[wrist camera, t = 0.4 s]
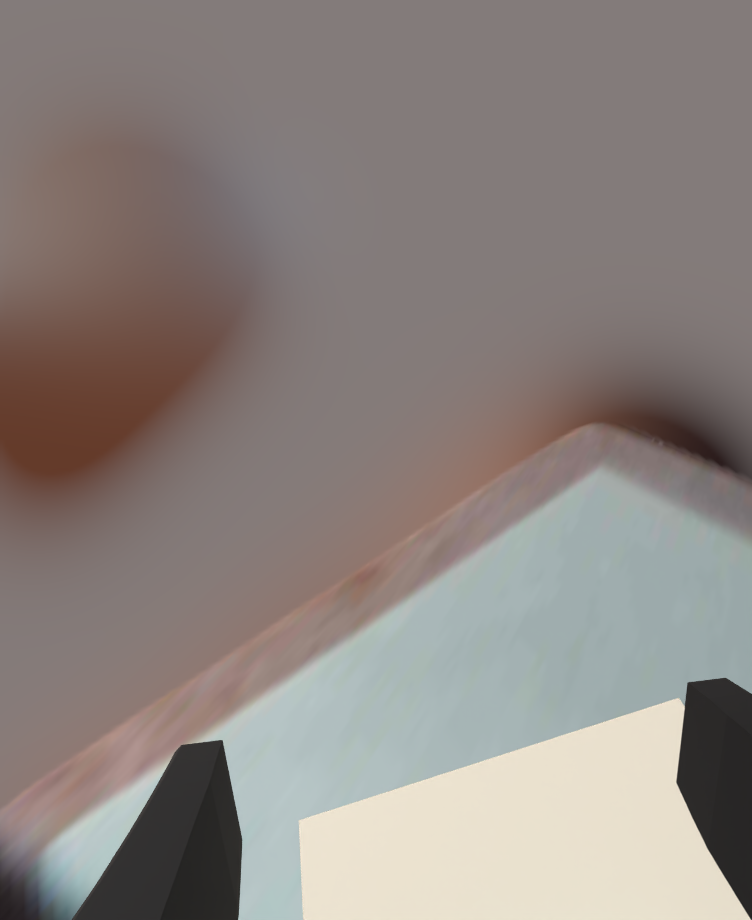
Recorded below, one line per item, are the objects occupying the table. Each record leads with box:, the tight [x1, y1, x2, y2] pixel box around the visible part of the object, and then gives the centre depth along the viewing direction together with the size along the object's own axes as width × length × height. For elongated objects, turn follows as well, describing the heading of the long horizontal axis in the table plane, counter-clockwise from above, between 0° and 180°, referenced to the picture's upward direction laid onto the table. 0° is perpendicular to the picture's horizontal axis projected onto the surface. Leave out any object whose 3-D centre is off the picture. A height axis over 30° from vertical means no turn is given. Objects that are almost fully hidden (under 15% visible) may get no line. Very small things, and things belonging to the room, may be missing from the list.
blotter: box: [299, 698, 751, 920], centre depth 27 cm, size 10×18×1 cm, turn 98°
